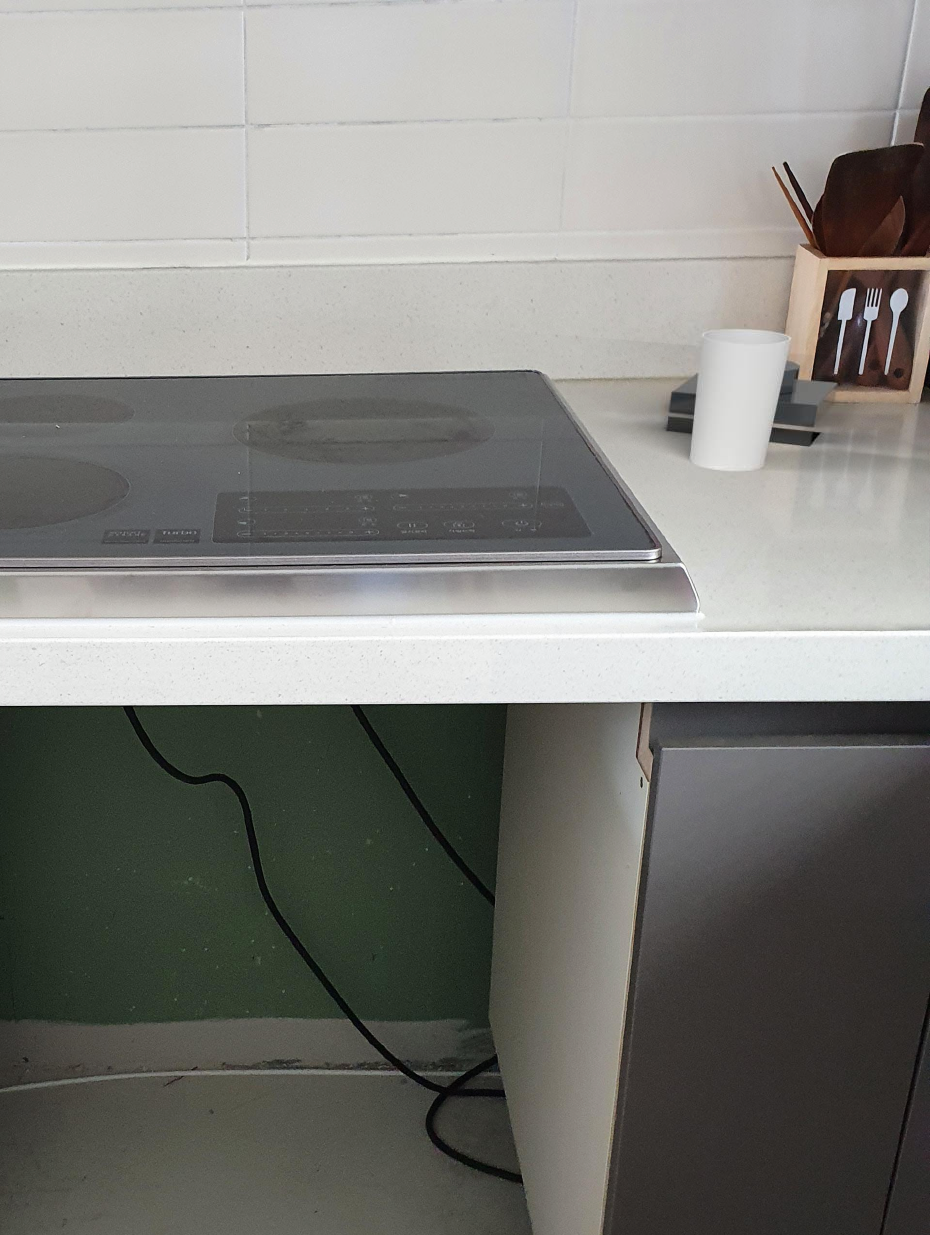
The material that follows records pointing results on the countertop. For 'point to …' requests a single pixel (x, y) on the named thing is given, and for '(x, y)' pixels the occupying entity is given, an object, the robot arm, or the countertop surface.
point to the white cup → (737, 397)
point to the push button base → (794, 406)
